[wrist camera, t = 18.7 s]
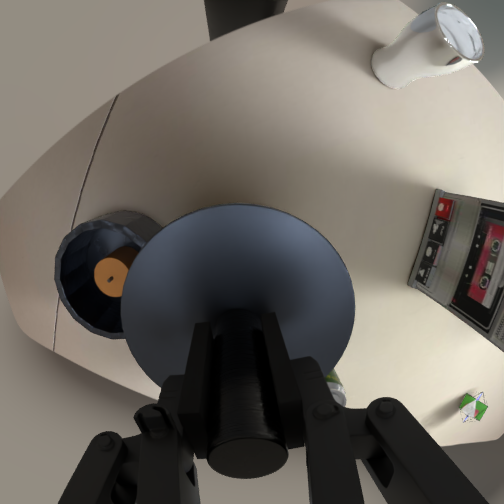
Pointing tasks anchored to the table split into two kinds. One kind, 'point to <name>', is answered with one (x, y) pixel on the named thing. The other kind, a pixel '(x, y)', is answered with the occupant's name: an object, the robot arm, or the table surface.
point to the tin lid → (238, 317)
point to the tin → (85, 260)
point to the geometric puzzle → (473, 407)
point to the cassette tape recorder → (465, 261)
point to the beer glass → (429, 47)
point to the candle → (114, 270)
